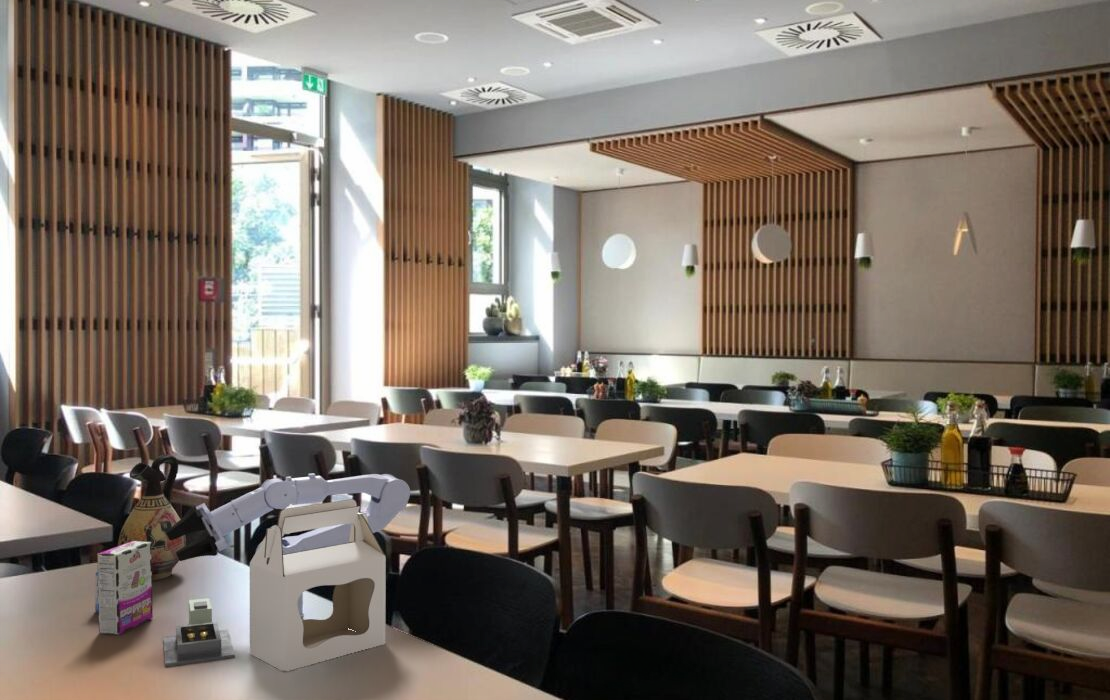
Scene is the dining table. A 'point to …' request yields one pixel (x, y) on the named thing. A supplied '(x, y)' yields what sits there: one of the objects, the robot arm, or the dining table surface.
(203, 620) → the pale green block
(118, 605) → the candy bar box
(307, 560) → the gable box
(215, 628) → the chassis
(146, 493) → the ceramic jug
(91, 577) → the dining table surface
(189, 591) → the dining table surface
